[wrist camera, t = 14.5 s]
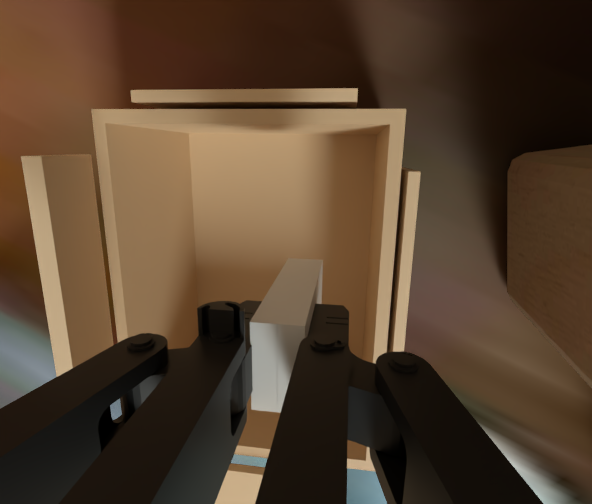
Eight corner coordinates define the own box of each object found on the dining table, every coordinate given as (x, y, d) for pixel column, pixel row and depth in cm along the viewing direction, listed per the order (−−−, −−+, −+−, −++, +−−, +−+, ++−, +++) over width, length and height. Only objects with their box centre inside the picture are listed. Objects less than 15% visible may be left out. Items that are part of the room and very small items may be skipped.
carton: (180, 112, 27) (85, 90, 17) (399, 112, 25) (428, 87, 15) (194, 353, 32) (125, 440, 22) (379, 369, 30) (392, 473, 20)
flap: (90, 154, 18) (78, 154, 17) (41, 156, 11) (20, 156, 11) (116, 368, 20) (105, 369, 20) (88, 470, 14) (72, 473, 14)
